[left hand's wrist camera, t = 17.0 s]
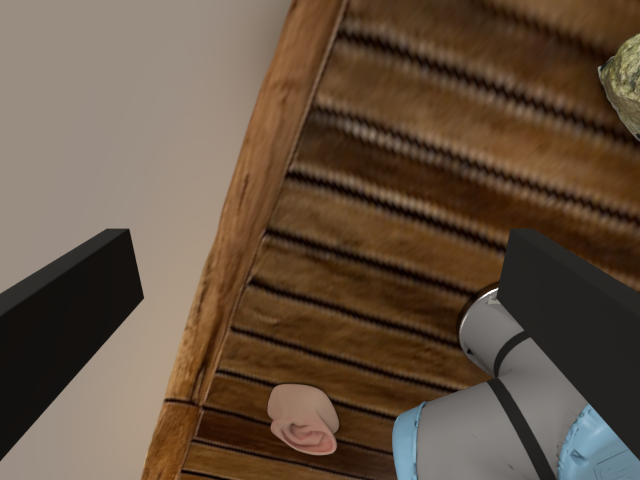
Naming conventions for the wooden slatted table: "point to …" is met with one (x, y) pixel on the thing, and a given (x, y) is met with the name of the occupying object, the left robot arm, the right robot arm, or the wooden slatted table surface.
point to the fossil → (624, 83)
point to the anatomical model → (303, 418)
